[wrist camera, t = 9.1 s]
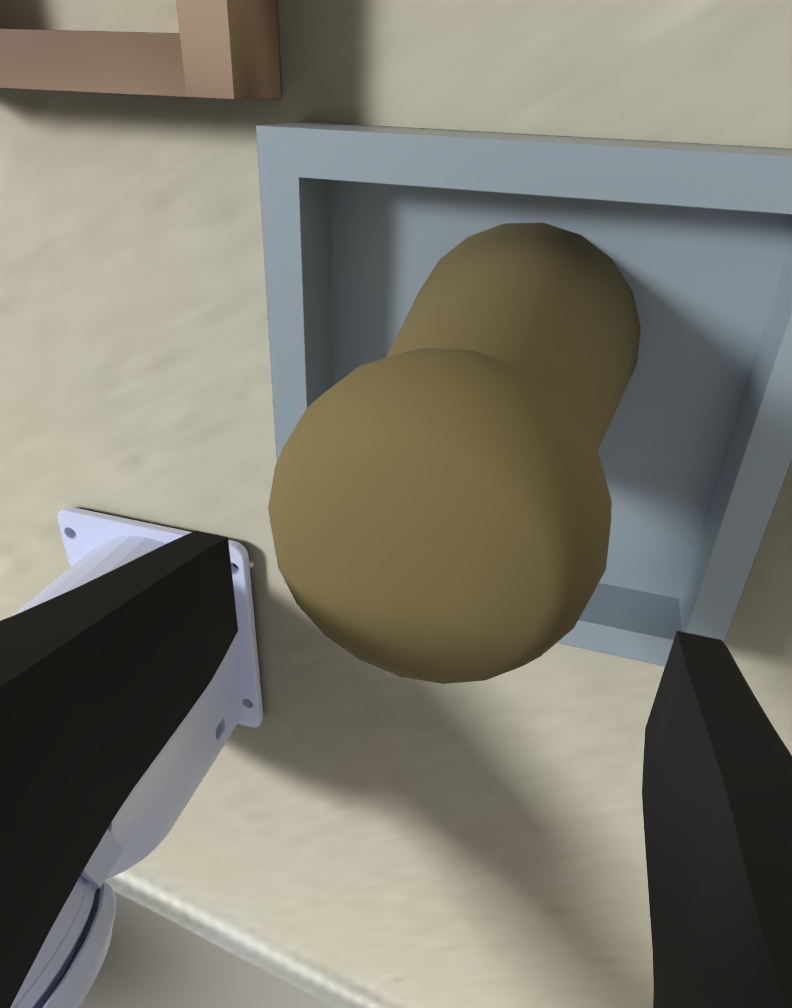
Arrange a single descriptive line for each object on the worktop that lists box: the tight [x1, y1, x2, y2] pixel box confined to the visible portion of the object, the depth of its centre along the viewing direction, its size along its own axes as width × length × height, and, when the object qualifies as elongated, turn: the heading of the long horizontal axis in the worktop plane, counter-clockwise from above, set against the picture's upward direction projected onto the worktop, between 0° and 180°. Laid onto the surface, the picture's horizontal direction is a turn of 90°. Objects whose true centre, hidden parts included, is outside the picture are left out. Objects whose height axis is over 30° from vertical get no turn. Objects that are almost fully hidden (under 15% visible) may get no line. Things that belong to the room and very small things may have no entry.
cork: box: [268, 223, 641, 684], centre depth 14 cm, size 6×6×11 cm
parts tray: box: [256, 122, 792, 667], centre depth 19 cm, size 13×13×2 cm
